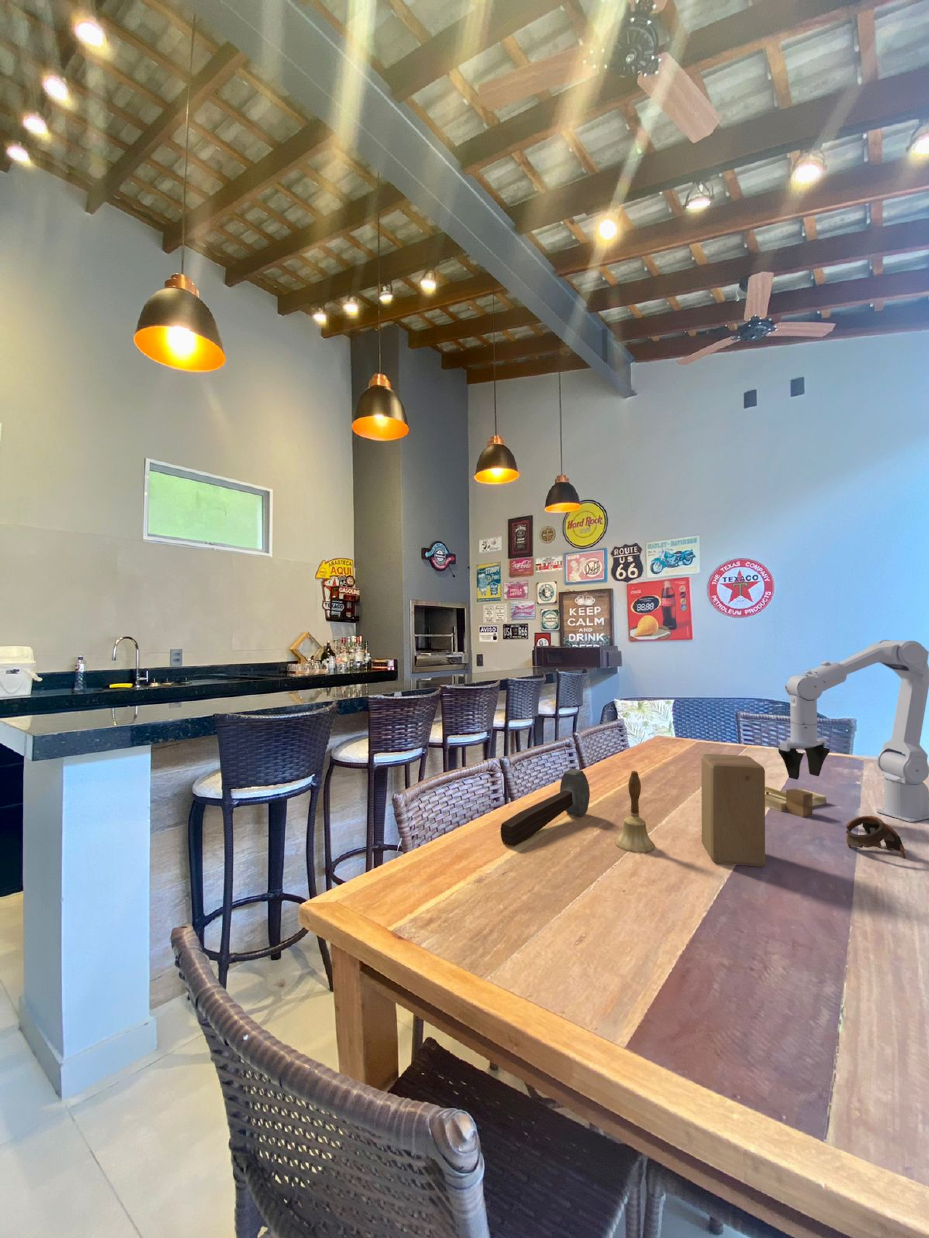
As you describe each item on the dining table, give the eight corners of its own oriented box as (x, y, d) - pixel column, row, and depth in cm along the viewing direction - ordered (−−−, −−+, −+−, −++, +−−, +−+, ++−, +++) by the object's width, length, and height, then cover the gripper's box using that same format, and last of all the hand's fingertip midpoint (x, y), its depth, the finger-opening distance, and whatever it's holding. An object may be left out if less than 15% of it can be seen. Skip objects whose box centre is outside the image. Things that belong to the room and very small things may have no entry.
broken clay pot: (915, 868, 107) (894, 832, 107) (862, 877, 112) (842, 843, 112) (900, 832, 117) (881, 800, 117) (852, 842, 122) (834, 811, 122)
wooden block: (766, 869, 105) (766, 766, 105) (712, 864, 107) (712, 764, 107) (750, 848, 115) (750, 754, 115) (700, 844, 117) (700, 752, 117)
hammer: (516, 865, 115) (591, 812, 136) (512, 814, 114) (587, 769, 135) (499, 858, 118) (574, 807, 139) (495, 808, 117) (571, 765, 138)
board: (801, 795, 150) (801, 788, 150) (826, 803, 144) (826, 795, 144) (757, 803, 144) (757, 795, 144) (781, 811, 137) (781, 803, 137)
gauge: (769, 800, 146) (769, 780, 146) (812, 815, 135) (812, 793, 135) (760, 802, 145) (760, 781, 145) (802, 817, 133) (802, 795, 133)
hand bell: (660, 852, 112) (660, 776, 112) (621, 852, 112) (621, 776, 112) (647, 837, 121) (646, 766, 121) (610, 837, 121) (610, 766, 121)
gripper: (808, 718, 142) (808, 769, 142) (768, 722, 137) (769, 775, 137) (835, 723, 136) (835, 776, 136) (794, 727, 131) (795, 783, 130)
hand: (804, 776), depth 136 cm, fingers open, 7 cm apart
